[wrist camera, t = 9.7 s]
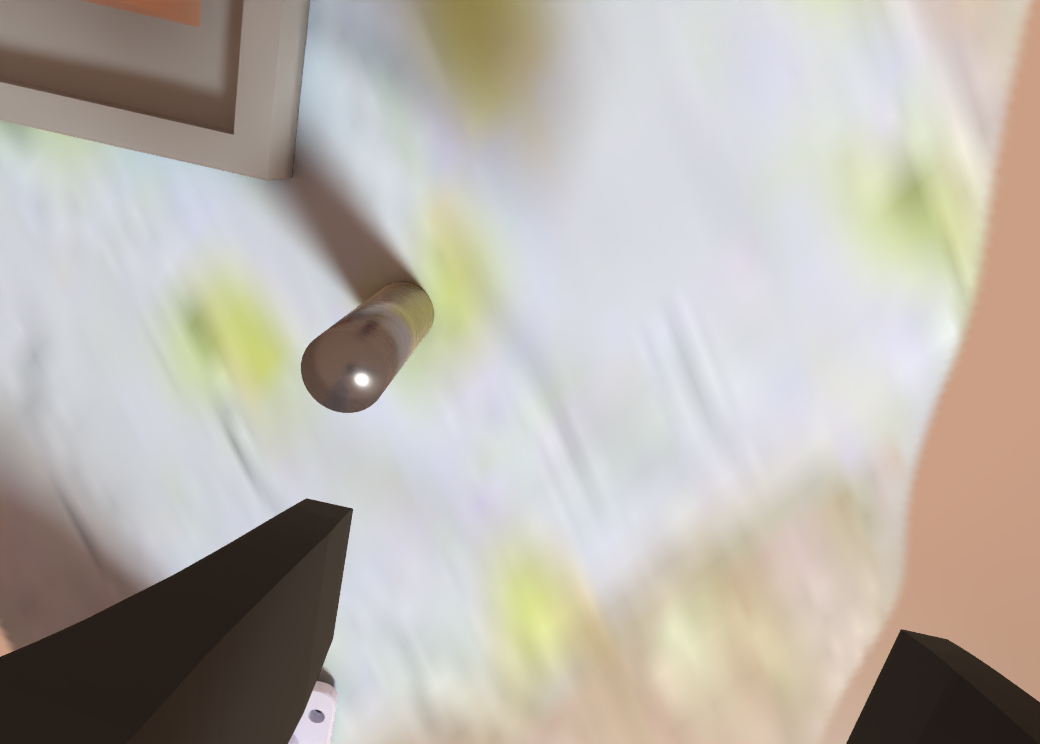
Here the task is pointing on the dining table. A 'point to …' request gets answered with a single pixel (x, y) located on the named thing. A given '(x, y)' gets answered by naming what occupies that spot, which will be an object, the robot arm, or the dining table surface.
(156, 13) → the collar
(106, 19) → the slate tray
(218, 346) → the dining table surface
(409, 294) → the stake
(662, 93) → the dining table surface
